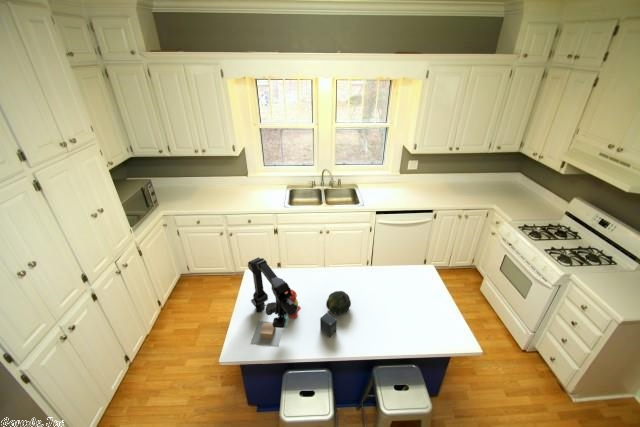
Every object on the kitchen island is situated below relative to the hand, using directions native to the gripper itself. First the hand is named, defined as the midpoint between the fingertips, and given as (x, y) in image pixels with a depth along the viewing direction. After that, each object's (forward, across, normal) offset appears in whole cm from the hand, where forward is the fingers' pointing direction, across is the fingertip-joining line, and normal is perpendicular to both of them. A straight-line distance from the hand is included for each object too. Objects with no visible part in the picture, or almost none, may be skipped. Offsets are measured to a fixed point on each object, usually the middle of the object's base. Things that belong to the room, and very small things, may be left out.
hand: (282, 322), depth 162 cm
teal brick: (+1, 0, 0) cm, 1 cm away
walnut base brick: (+11, 0, -9) cm, 14 cm away
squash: (+12, -23, +30) cm, 40 cm away
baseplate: (+12, 0, -9) cm, 15 cm away
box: (+11, -6, +25) cm, 28 cm away
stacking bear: (+12, -18, +1) cm, 21 cm away
